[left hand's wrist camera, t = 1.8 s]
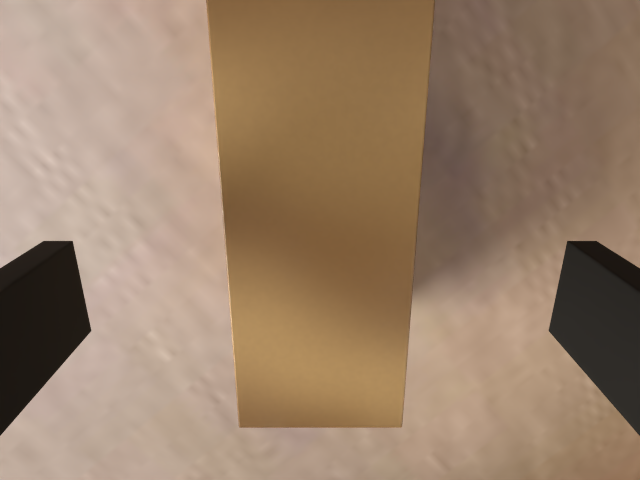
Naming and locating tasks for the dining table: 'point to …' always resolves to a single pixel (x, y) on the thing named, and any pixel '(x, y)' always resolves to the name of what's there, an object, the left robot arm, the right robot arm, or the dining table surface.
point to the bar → (320, 201)
